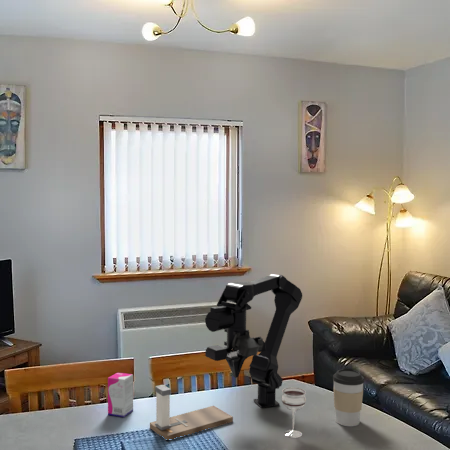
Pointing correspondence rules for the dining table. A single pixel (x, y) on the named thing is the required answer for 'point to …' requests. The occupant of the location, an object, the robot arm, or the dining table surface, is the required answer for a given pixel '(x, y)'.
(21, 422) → the dining table surface
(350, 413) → the coffee cup
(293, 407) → the wineglass
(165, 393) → the lever
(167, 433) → the wooden board
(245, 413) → the dining table surface
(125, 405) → the supplement box
